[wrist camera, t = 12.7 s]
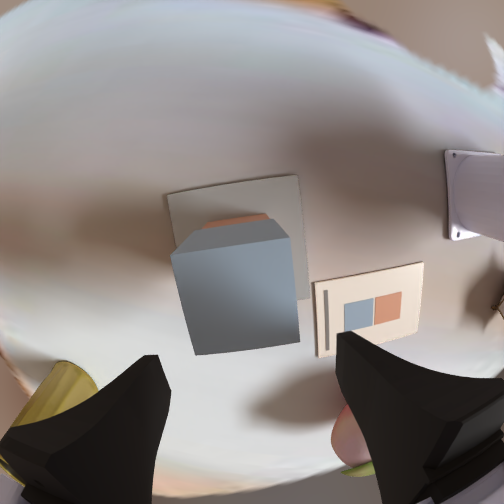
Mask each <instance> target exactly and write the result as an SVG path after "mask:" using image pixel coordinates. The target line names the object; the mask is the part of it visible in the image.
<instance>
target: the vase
mask: <svg viewBox="0 0 504 504" xmlns="http://www.w3.org/2000/svg"><path fill="white" fill-rule="evenodd" d="M97 392H98V388H97V386H96V384H95V382H94V381H93V380H92V378H91V377H90V376H89V375H88V374H87V373H86V372H85V371H84V370H82V369H81V368H79V367H78V366H76V365H74V364H72V363H69V362H58V363H56V364H55V365H54V367H53V369H52V371H51V373H50V374H49V375H48V376H47V377H46V378H45V380H44V381H43V382H42V383H41V385H40V386H39V387H38V388H37V390H36V391H35V393H34V394H33V395H32V397H31V398H30V400H29V401H28V403H27V404H26V405H25V406H24V408H23V409H22V411H21V412H20V413H19V415H18V417H17V418H16V419H15V421H14V422H13V424H12V425H11V426H10V427H15V426H20V425H25V424H30V423H34V422H37V421H40V420H44V419H47V418H49V417H52V416H55V415H57V414H59V413H62V412H64V411H66V410H68V409H70V408H72V407H74V406H76V405H78V404H80V403H81V402H83V401H85V400H86V399H88V398H90V397H91V396H93V395H94V394H96V393H97ZM8 430H9V429H8ZM0 466H1V468H3V470H4V471H5V472H7V473H8V474H9V475H10V476H11V477H12V478H13V479H15V480H16V481H17V482H19V483H20V484H21V485H23V486H24V487H25V485H26V484H27V482H25V481H24V480H23V479H22V478H21V477H20V476H19V475H18V474H17V473H16V472H15V471H14V470H13V469H12V468H11V467H10V465H9V464H8V463H7V462H6V461H5V460H4V459H3V457H2V456H1V455H0Z"/></svg>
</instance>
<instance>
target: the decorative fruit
mask: <svg viewBox="0 0 504 504" xmlns="http://www.w3.org/2000/svg"><path fill="white" fill-rule="evenodd" d="M331 444H332V447H333V450H334V451H335V453H336V455H337V456H338V457H339V458H340V459H341V461H343V462H344V463H345V464H346V465H348V466H350V467H352V469H348V470H346V471H342V472H341V473H342V474H345V475H348V476H357V477H360V476H368V475H371V474H374V473H375V470H374V467H373V463H372V460H371V457H370V454H369V451H368V448H367V445H366V442H365V439H364V436H363V434H362V432H361V430H360V428H359V426H358V424H357V422H356V420H355V418H354V416H353V414H352V412H351V410H350V408H349V406H348V404H347V405H346V406H345V407H344V408H343V410H342V411H341V413H340V415H339V416H338V418H337V420H336V422H335V424H334V427H333V430H332V434H331Z"/></svg>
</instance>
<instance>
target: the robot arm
mask: <svg viewBox="0 0 504 504" xmlns="http://www.w3.org/2000/svg"><path fill="white" fill-rule="evenodd" d="M453 155H454V157H453ZM445 163H446V173H447V186H448V206H449V239H450V240H452V241H456V240H461V239H466V238H471V237H476V236H481V235H484V236H487V237H490V238H493V239H496V240H499V241H502V242H504V155H501V154H495V153H486V152H476V151H464V150H446V151H445ZM457 233H458V234H457ZM456 235H457V236H456ZM335 373H336V376H337V379H338V382H339V385H340V388H341V391H342V393H343V395H344V397H345V400H346V402H347V404H348V406H349V408H350V410H351V412H352V414H353V416H354V418H355V420H356V422H357V424H358V426H359V428H360V430H361V432H362V434H363V436H364V439H365V442H366V445H367V448H368V451H369V454H370V457H371V460H372V463H373V467H374V470H375V474H376V477H377V481H378V485H379V489H380V493H381V499H382V503H383V504H504V442H503V441H502V440H501V439H502V438H503V436H504V433H503V432H502V431H501V429H500V428H501V426H502V424H503V423H504V380H503V379H502V378H471V377H462V376H456V375H450V374H446V373H441V372H437V371H433V370H430V369H427V368H424V367H421V366H418V365H415V364H413V363H410V362H408V361H406V360H404V359H401V358H399V357H397V356H395V355H393V354H391V353H389V352H387V351H385V350H384V349H382V348H380V347H378V346H376V345H375V344H373V343H371V342H370V341H368V340H366V339H365V338H363V337H361V336H360V335H358V334H356V333H354V332H353V331H346V332H341V333H336V371H335ZM170 399H171V389H170V387H169V384H168V381H167V379H166V376H165V373H164V371H163V368H162V365H161V362H160V360H159V357H158V355H144V356H143V357H141V358H140V359H139V360H137V361H136V362H135V363H134V364H132V365H131V366H130V367H129V368H128V369H126V370H125V371H124V372H123V373H122V374H120V375H119V376H118V377H117V378H115V379H114V380H113V381H112V382H110V383H109V384H108V385H106V386H105V387H104V388H102V389H101V390H100V391H98V392H97V393H96V394H94V395H93V396H91V397H90V398H88V399H86V400H85V401H83V402H81V403H80V404H78V405H76V406H74V407H72V408H70V409H68V410H66V411H64V412H62V413H59V414H57V415H55V416H52V417H49V418H47V419H44V420H40V421H37V422H34V423H30V424H25V425H20V426H15V427H10V428H9V430H8V431H7V432H6V434H5V435H4V436H3V438H2V439H1V441H0V455H1V456H2V457H3V459H4V460H5V461H6V462H7V463H8V464H9V465H10V467H11V468H12V469H13V470H14V471H15V472H16V473H17V474H18V475H19V476H20V477H21V478H22V479H23V480H24V481H25V482H27V484H26V485H25V487H23V486H22V485H21V484H19V483H18V482H16V481H14V480H13V479H11V478H9V477H8V476H6V475H4V474H1V475H0V504H152V503H151V501H152V485H153V475H154V467H155V460H156V455H157V451H158V447H159V444H160V440H161V437H162V433H163V430H164V426H165V423H166V419H167V416H168V412H169V406H170Z"/></svg>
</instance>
